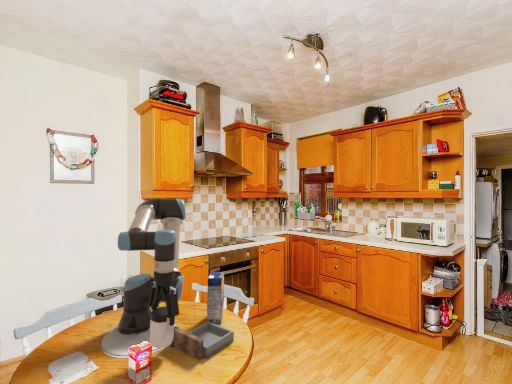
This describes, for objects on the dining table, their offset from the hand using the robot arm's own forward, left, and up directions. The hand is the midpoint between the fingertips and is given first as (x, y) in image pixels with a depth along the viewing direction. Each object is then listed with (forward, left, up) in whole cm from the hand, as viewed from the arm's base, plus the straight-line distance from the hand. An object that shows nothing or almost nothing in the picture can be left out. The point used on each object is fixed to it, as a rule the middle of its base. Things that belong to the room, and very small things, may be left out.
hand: (162, 329), depth 103 cm
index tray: (+7, +17, -10) cm, 21 cm away
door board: (+5, +8, -10) cm, 14 cm away
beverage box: (-6, +36, -10) cm, 37 cm away
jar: (0, 0, -5) cm, 5 cm away
